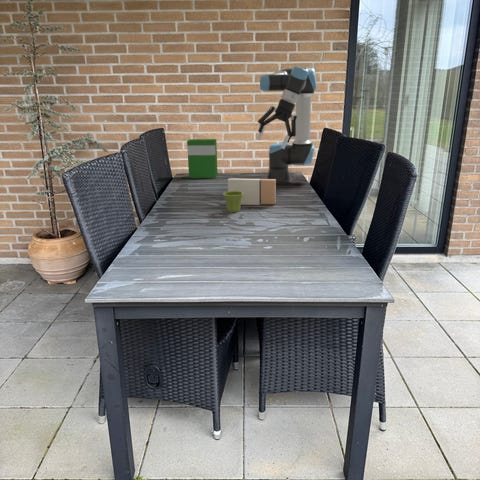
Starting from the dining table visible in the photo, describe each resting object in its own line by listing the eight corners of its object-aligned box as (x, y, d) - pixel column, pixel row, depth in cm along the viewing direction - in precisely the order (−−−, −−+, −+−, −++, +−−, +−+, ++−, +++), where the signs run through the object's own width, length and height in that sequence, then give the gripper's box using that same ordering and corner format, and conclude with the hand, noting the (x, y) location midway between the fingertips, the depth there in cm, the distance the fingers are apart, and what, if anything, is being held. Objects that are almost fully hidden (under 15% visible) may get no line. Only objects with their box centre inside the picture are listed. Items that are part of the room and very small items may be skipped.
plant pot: (220, 212, 212) (219, 194, 209) (229, 207, 220) (229, 190, 217) (237, 214, 208) (237, 196, 205) (246, 209, 216) (246, 192, 213)
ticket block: (229, 202, 229) (229, 178, 225) (261, 203, 226) (261, 178, 222) (228, 204, 226) (227, 179, 222) (260, 204, 223) (260, 180, 219)
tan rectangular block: (261, 202, 226) (261, 178, 222) (275, 202, 225) (275, 179, 221) (260, 203, 223) (260, 180, 219) (274, 204, 222) (275, 180, 218)
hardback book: (217, 176, 294) (216, 139, 287) (216, 178, 287) (214, 140, 280) (191, 176, 296) (189, 139, 288) (189, 178, 289) (186, 140, 281)
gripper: (268, 92, 201) (250, 137, 207) (313, 111, 211) (295, 153, 218) (262, 90, 207) (245, 134, 214) (306, 108, 218) (289, 149, 224)
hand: (270, 144), depth 216 cm, fingers open, 13 cm apart
